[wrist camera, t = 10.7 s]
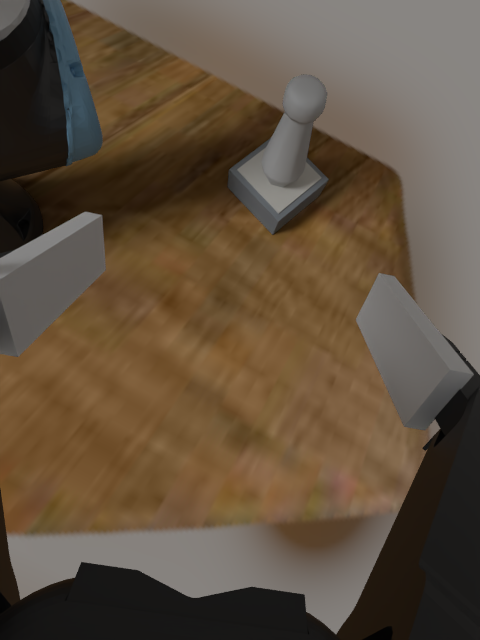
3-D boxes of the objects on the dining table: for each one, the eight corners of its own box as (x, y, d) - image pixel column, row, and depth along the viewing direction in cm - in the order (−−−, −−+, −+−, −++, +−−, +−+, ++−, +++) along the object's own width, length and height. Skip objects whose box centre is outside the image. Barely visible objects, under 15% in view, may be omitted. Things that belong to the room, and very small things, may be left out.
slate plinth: (227, 187, 46) (229, 168, 42) (275, 150, 48) (281, 129, 43) (272, 234, 45) (278, 220, 41) (319, 195, 47) (329, 178, 43)
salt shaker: (276, 147, 43) (303, 51, 30) (308, 172, 43) (349, 86, 30) (250, 175, 42) (267, 87, 29) (283, 201, 41) (315, 123, 29)
